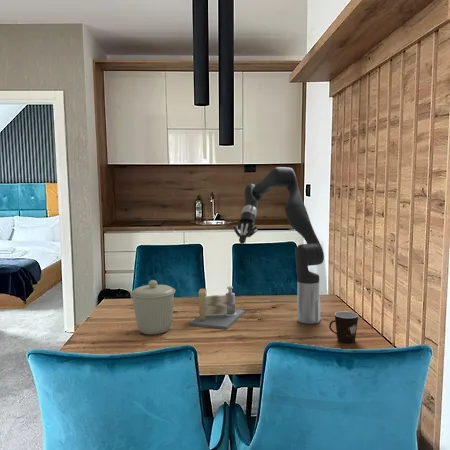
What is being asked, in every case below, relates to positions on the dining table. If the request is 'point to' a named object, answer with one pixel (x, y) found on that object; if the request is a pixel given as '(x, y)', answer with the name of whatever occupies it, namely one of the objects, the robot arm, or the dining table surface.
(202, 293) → the post
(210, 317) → the board
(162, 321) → the canister
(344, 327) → the coffee mug
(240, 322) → the dining table surface
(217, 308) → the white wavy panel
